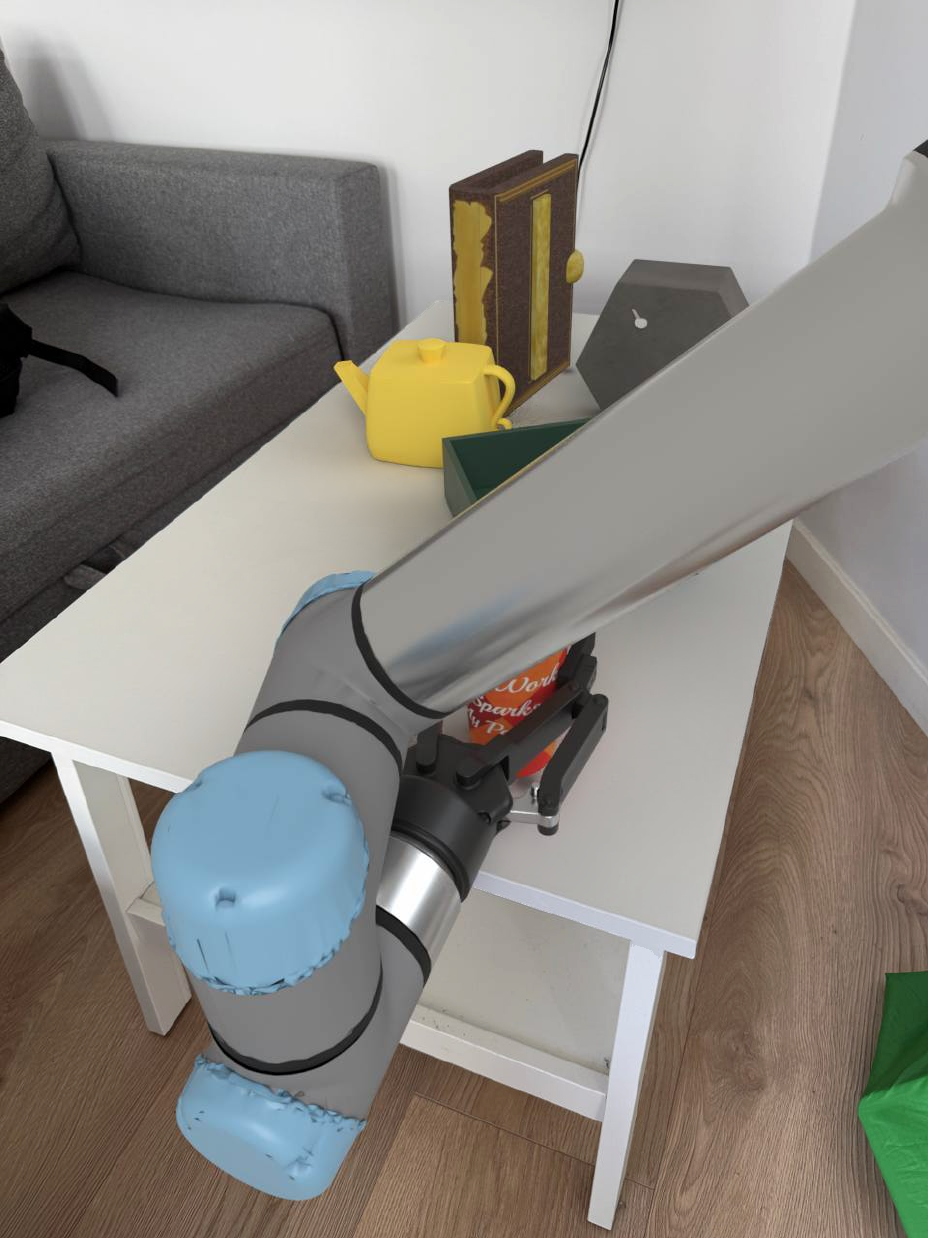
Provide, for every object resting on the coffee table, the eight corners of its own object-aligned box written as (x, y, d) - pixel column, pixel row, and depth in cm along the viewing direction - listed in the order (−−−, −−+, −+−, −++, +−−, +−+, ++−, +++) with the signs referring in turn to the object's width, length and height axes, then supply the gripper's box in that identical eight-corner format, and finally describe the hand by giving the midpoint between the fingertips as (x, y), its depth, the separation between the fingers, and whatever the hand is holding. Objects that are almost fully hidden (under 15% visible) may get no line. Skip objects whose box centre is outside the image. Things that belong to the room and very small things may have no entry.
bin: (698, 574, 83) (708, 510, 78) (490, 609, 80) (489, 544, 75) (622, 470, 97) (627, 412, 93) (444, 497, 94) (441, 437, 90)
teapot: (326, 460, 101) (312, 358, 94) (362, 410, 111) (352, 314, 103) (503, 477, 97) (502, 371, 90) (525, 424, 106) (526, 325, 99)
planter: (791, 390, 100) (707, 217, 93) (783, 421, 95) (693, 239, 87) (654, 448, 110) (569, 296, 103) (640, 478, 105) (549, 320, 97)
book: (505, 426, 106) (504, 196, 91) (443, 411, 110) (432, 187, 94) (587, 358, 121) (598, 149, 105) (530, 346, 124) (533, 143, 109)
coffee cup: (444, 780, 64) (433, 613, 55) (471, 700, 71) (465, 538, 61) (562, 799, 63) (571, 631, 53) (579, 716, 69) (590, 552, 60)
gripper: (252, 860, 54) (413, 629, 71) (578, 972, 48) (671, 690, 64) (228, 775, 49) (406, 548, 66) (585, 887, 43) (684, 606, 60)
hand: (537, 618), depth 65 cm, fingers closed on coffee cup, 7 cm apart
